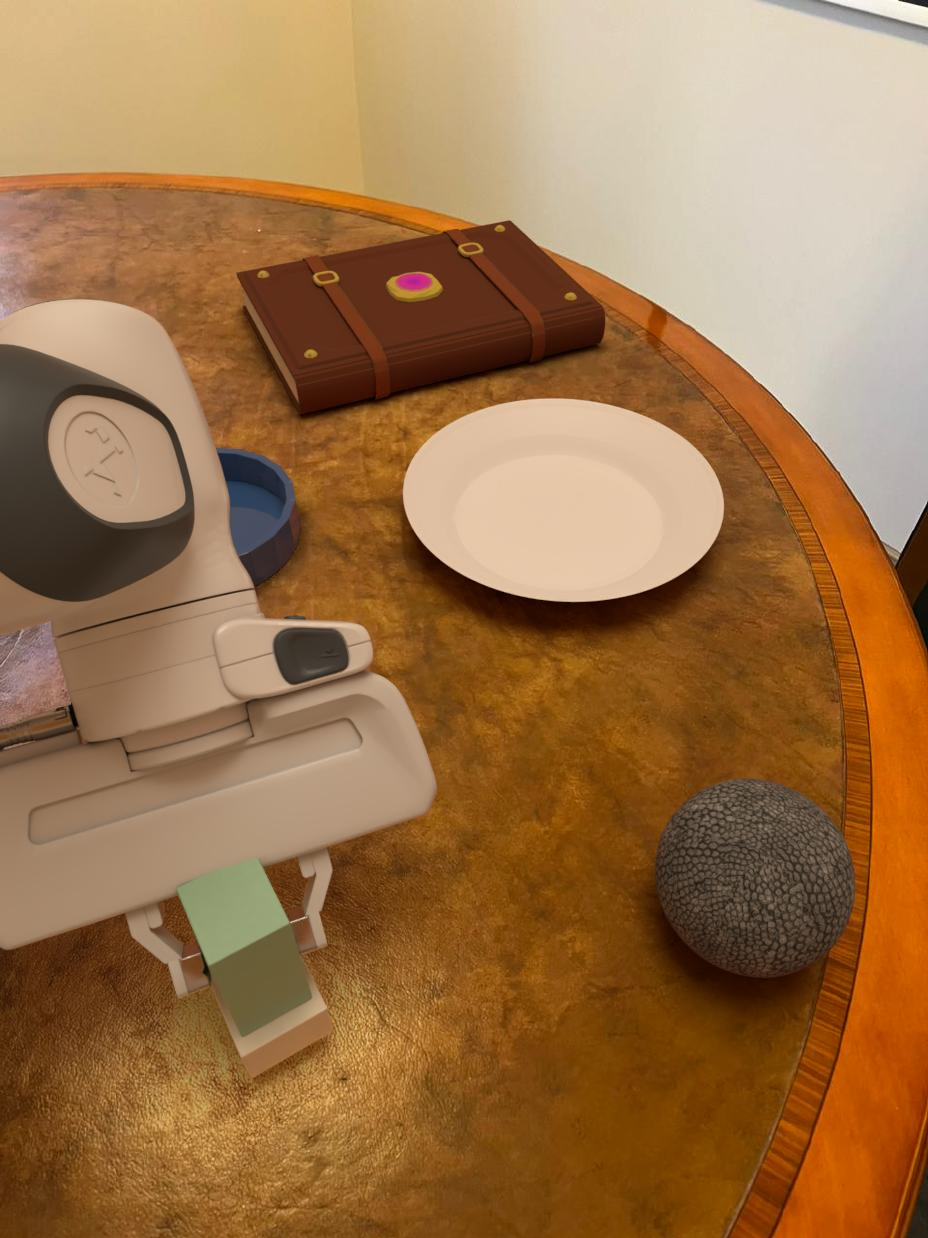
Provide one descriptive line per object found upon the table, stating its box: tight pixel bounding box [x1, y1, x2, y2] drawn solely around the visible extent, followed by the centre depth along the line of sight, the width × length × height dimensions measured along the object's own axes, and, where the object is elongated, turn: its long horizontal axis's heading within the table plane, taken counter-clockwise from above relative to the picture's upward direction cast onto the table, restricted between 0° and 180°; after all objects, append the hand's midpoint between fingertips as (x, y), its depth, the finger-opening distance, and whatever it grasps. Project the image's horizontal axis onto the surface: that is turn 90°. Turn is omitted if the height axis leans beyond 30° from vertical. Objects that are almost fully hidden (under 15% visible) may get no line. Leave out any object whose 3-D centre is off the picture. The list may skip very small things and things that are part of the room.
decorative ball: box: [654, 777, 856, 979], centre depth 49 cm, size 10×10×10 cm
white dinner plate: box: [402, 398, 725, 603], centre depth 74 cm, size 25×25×4 cm
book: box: [235, 219, 606, 415], centre depth 95 cm, size 23×32×5 cm
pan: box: [216, 447, 301, 587], centre depth 73 cm, size 14×14×4 cm
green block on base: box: [176, 858, 334, 1079], centre depth 43 cm, size 4×6×11 cm
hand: (255, 968), depth 43 cm, fingers closed on green block on base, 4 cm apart
